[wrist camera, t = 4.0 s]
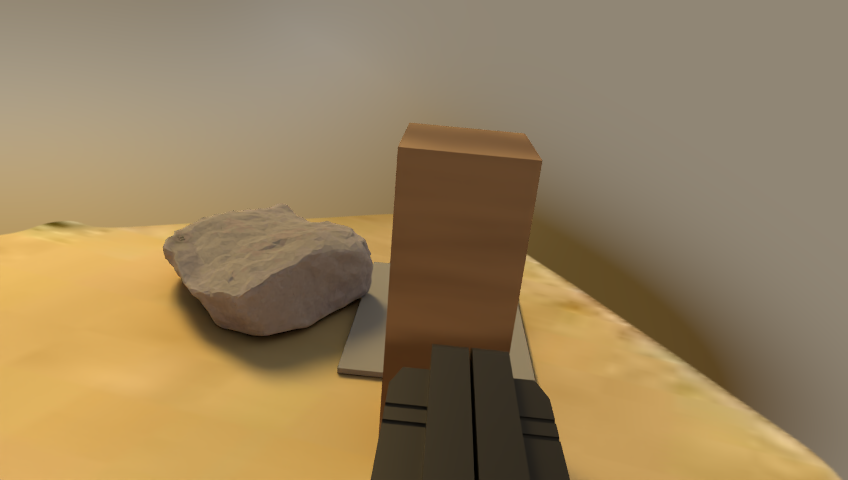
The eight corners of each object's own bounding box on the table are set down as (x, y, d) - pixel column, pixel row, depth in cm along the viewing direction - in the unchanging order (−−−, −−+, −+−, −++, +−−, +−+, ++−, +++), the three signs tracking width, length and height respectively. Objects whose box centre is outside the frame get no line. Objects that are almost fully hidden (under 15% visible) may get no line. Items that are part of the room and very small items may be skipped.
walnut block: (488, 478, 21) (542, 160, 17) (376, 466, 22) (398, 146, 17) (483, 404, 26) (524, 133, 21) (389, 395, 26) (409, 122, 21)
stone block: (257, 379, 28) (388, 287, 35) (232, 305, 26) (378, 221, 32) (156, 305, 36) (280, 240, 42) (130, 242, 33) (265, 184, 39)
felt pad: (535, 393, 27) (537, 388, 27) (337, 372, 27) (337, 367, 27) (511, 279, 39) (511, 275, 39) (373, 265, 39) (374, 261, 39)
